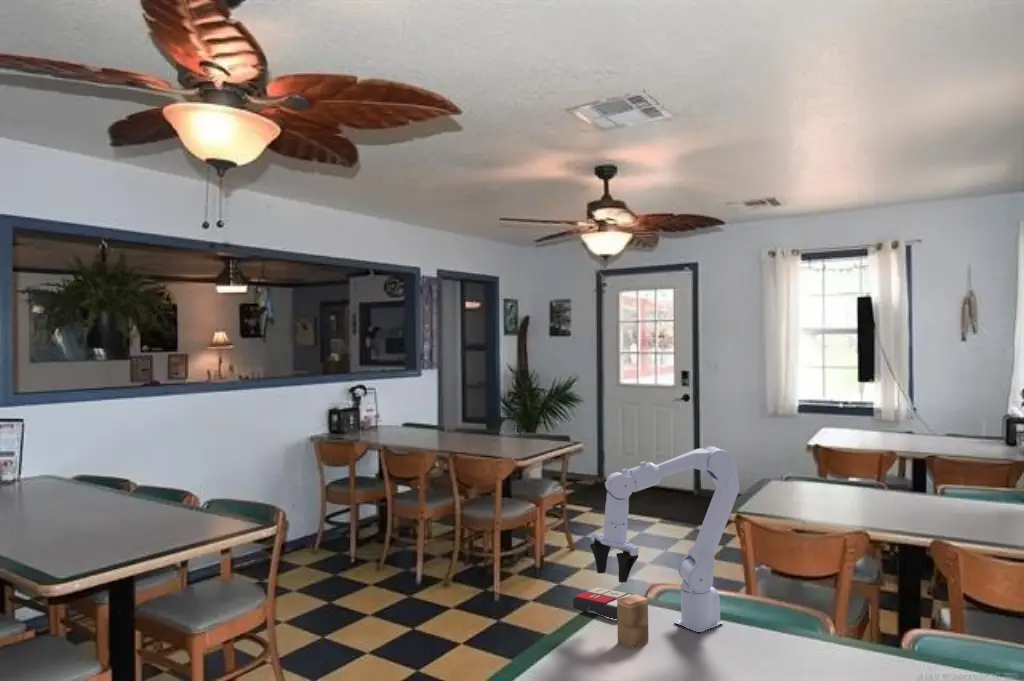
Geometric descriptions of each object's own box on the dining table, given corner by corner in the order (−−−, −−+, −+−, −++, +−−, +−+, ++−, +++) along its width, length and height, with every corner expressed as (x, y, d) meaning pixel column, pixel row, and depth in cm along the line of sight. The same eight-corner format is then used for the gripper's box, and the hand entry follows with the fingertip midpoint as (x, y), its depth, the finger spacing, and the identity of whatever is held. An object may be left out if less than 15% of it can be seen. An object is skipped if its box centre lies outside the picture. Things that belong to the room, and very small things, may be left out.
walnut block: (636, 636, 164) (635, 594, 165) (648, 642, 161) (647, 598, 161) (617, 642, 161) (617, 599, 161) (630, 648, 158) (629, 604, 158)
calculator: (596, 585, 192) (642, 594, 182) (597, 601, 192) (643, 611, 182) (572, 595, 184) (618, 605, 174) (572, 611, 184) (619, 623, 174)
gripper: (584, 516, 175) (580, 570, 174) (625, 530, 163) (621, 588, 163) (604, 514, 179) (600, 567, 179) (646, 528, 167) (642, 584, 167)
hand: (611, 577), depth 171 cm, fingers open, 7 cm apart
